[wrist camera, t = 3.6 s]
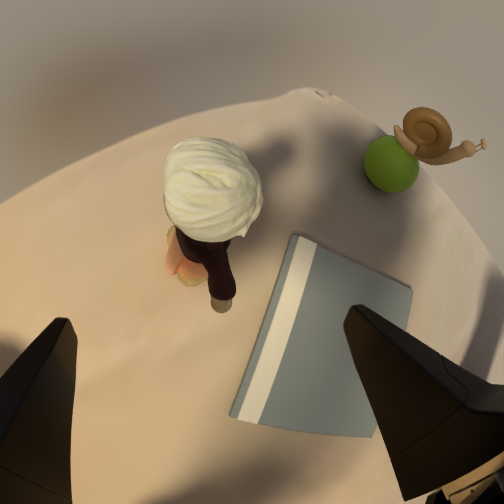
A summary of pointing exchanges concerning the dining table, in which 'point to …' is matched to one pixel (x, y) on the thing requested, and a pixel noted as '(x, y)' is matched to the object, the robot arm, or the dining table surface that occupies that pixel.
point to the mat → (315, 345)
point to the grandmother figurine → (208, 212)
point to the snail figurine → (413, 150)
